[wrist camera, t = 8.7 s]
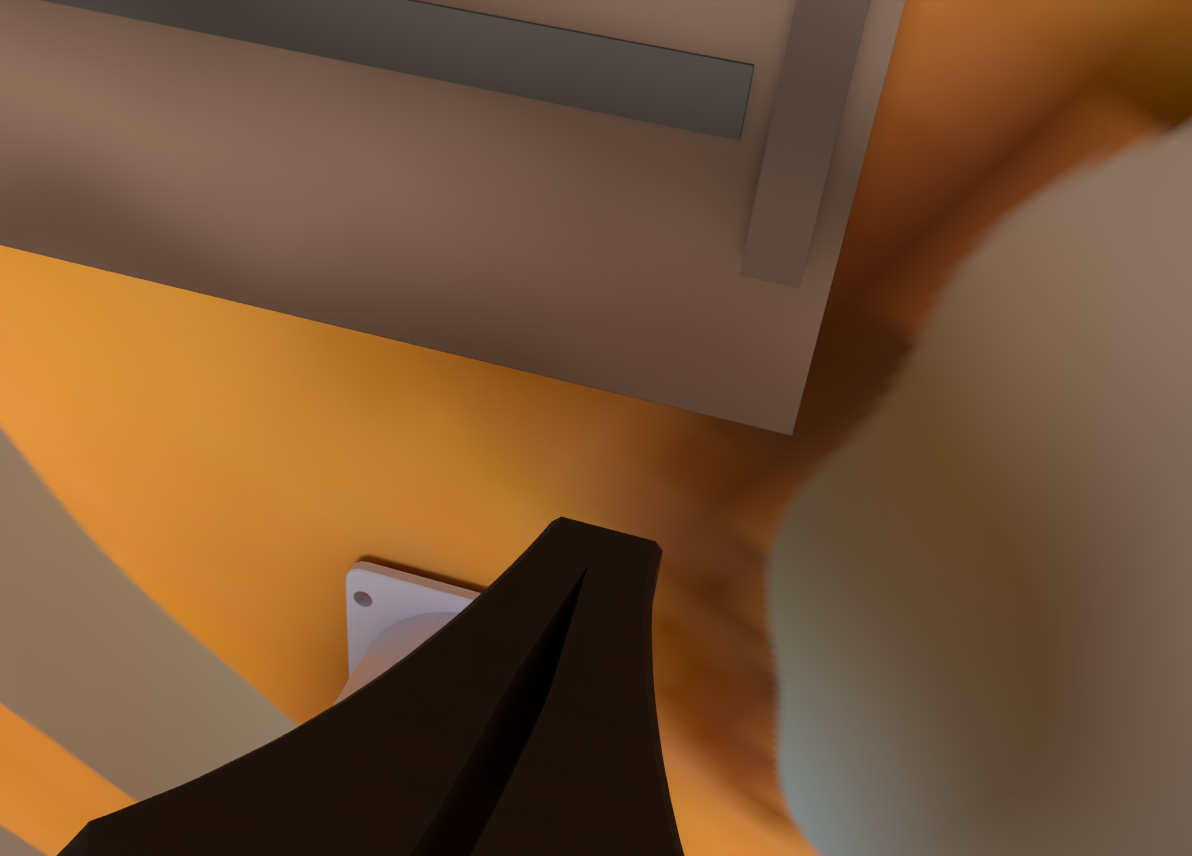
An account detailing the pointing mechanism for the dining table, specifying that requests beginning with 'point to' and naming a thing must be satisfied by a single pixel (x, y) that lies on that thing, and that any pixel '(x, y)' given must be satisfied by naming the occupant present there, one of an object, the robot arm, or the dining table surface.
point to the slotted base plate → (466, 172)
